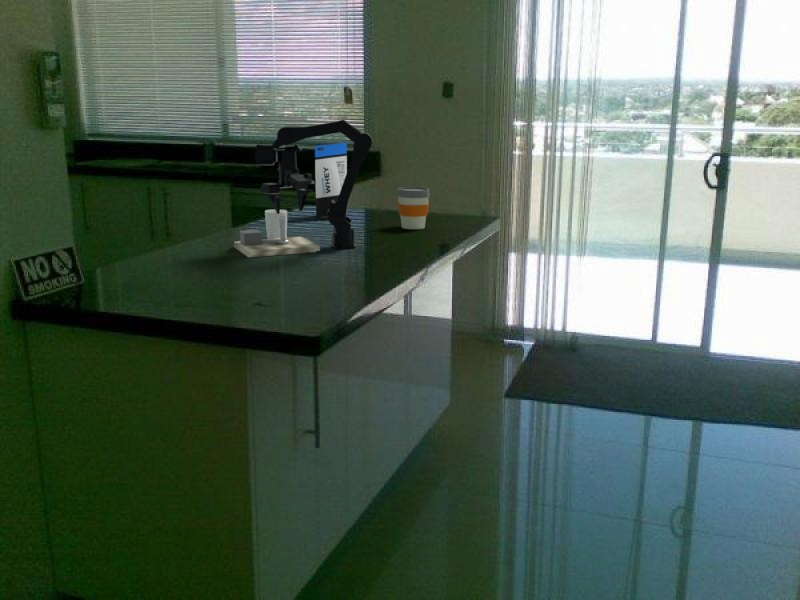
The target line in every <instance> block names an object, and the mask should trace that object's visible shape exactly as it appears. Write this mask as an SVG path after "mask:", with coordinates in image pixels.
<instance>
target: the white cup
mask: <svg viewBox="0 0 800 600" xmlns="http://www.w3.org/2000/svg"><path fill="white" fill-rule="evenodd" d="M264 216H265V217H264V218H265V229H266V239H275V238H280V221H279V219H280V216H285V238H287V230H288V210H287V209H280V213H279V214H277V213H276V211H275V209H266V210H264Z"/></svg>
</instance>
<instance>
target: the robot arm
mask: <svg viewBox="0 0 800 600" xmlns="http://www.w3.org/2000/svg"><path fill="white" fill-rule="evenodd" d="M339 133H340V134H343V136H345V137H346V138H347V139H349V140H350V141H351V142H353V150H352V155H351V160H350V163H349V166H348V168H347V174H346V177H345V180H344V183H343V185H342V188H341V191H340V194H339V197H338V198H337V200H336V201H334V200H332V201H331V204H330V209H329V210H328V212H327V214H329V215H328V220H327V221H329V224H330V225H332V226H333V229H332V233H331V247H333V248H335V249H337V250H343V249H355V248H356V245H354V244H355V243H354V242H355V241H354V229H353V228H352V225H353V220H352V219H351V218H349V217H348V207H349V201H350V198H351V193H352V192H353V188H354V186H355V183H356V180H357V178H358V174H359V172H360V169H361V166H362V164H363V161H364V160H365V158H366V156H367V154H368V153H369V151H370V149H371V147H372V145H373V138H372V136H371V134H370V133H368V132H367V131H366V132H365V131H364V132H363V131H360V130H359V129H358V128H357V127H354V126H353V125H352V124H351V123H349V122H348V121H346V120H345V119H340V120H337V121H332V122H326V123H319V124H313V125H308V126H298V125H297V126H296V125H294V126H293V125H291V126H288V125H287V126H284V127H280V128H279V130H278V131H277V134H276V137H277V138H276V139H275V141H274V142H272V144H260V143H259V144H256V145H255V146H256V148H255V150H256V151H255V157H254V158H255V165H256V166H275V163H277V162H278V167H277V168H276V171H277V172H278V173H279V180H277V183H275V182H267V183H262V184H261V186H260V193H264V195H265V196H267V198H268V199H269V201H270V202H271V204H272V206H273V208H274V209H275V211H276V213H277V214H279V213H280V207H281V206H280V197H281V195H282V193H280V192H281V191H284V190H285V191H286V190H296V198H297V204H298V205H297V206H298V210H299V212H302V211H303V210H304V209H303V208H304V206H305V202H306V200H307V197H308V195H309V194H310V193H312V192H313V190H316V181H315V180H313V178H312V174H311V173H305V174H301V172H300V168H298V167H297V165H298V164H297V152H298V153H300V152H302V151H303V149H302V148H301V147H300V146H299V144H298V143H296V142H300V141H303V140H305V139H309V138H315V137H320V136H326V135H327V136H328V135H332V134H339ZM294 143H296V144H295V145H292V146H291V144H294ZM283 146H284V148H283V149H280V148H281V147H283ZM346 214H347V216H346Z"/></svg>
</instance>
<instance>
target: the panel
mask: <svg viewBox="0 0 800 600" xmlns="http://www.w3.org/2000/svg"><path fill="white" fill-rule="evenodd" d="M275 239H280V238H275ZM285 239H287V240H289V243H287V244H278V243H262V245H248V246H244V245H243V244H242V243H240V240H237V241H235V240H234V241H233V247H234V248H235V250H237V251H239V252H240V253H241V254H242V255H244V256H246V257H247V258H256V257H257V258H258V257H269V256H271V257H272V256H284V255H294V254H308V252H309V253H317V252H316V251H321V249H320V248H321V247H320V245H319V244H317V243H315V242H313V241H311V240H309V239H307V238H306V237H303V236H292V237H286V238H285ZM262 240H270V239H268V238H266V239H263V238H262Z"/></svg>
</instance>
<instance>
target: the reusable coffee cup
mask: <svg viewBox="0 0 800 600" xmlns="http://www.w3.org/2000/svg"><path fill="white" fill-rule="evenodd" d="M430 196H431V194H430V188H428V187H421V186H406V187H405V186H403V187H398V188H397V198H398V202H397V205H398V206H397V208H398V214H399V216H400V224H401V228H402V229H405V230H422V229H425V226H426V220H427V216H428V212H429V205H430V204H429V198H430Z"/></svg>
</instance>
